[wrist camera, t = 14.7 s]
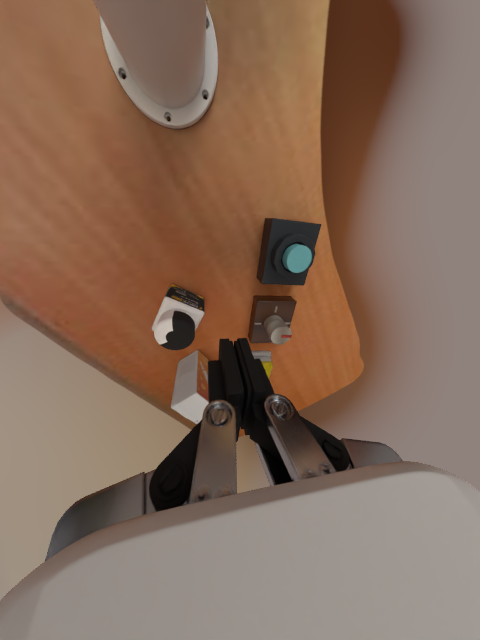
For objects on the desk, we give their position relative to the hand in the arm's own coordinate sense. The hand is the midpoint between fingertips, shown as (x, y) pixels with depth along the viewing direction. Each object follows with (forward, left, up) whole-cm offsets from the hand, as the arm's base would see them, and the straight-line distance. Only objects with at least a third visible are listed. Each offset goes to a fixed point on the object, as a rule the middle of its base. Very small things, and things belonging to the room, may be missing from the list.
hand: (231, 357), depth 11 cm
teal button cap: (-3, +14, -22) cm, 26 cm away
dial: (+12, +14, -24) cm, 30 cm away
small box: (+26, -3, -27) cm, 38 cm away
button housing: (-3, +14, -27) cm, 31 cm away
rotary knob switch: (+12, +14, -27) cm, 33 cm away
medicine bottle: (+9, -6, -27) cm, 29 cm away
